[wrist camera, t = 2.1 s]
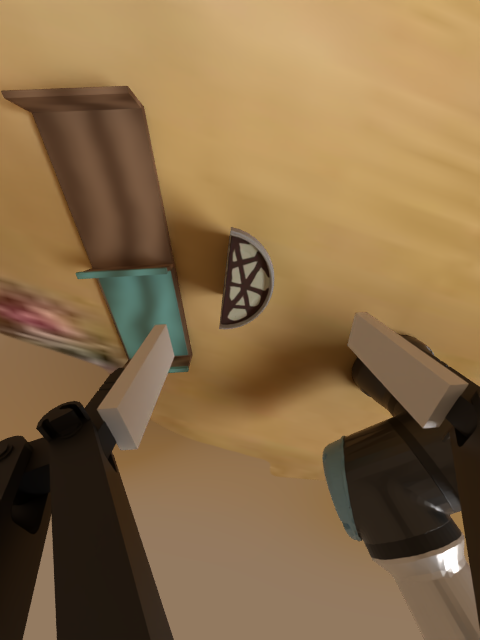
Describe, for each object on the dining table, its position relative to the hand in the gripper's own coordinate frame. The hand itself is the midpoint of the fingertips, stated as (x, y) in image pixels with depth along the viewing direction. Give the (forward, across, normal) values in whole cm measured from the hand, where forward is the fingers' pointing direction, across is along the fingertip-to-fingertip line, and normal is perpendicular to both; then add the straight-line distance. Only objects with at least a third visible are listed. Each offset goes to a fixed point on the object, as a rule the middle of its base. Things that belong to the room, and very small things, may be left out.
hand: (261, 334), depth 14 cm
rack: (+20, +17, -1) cm, 26 cm away
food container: (+20, 0, 0) cm, 20 cm away
